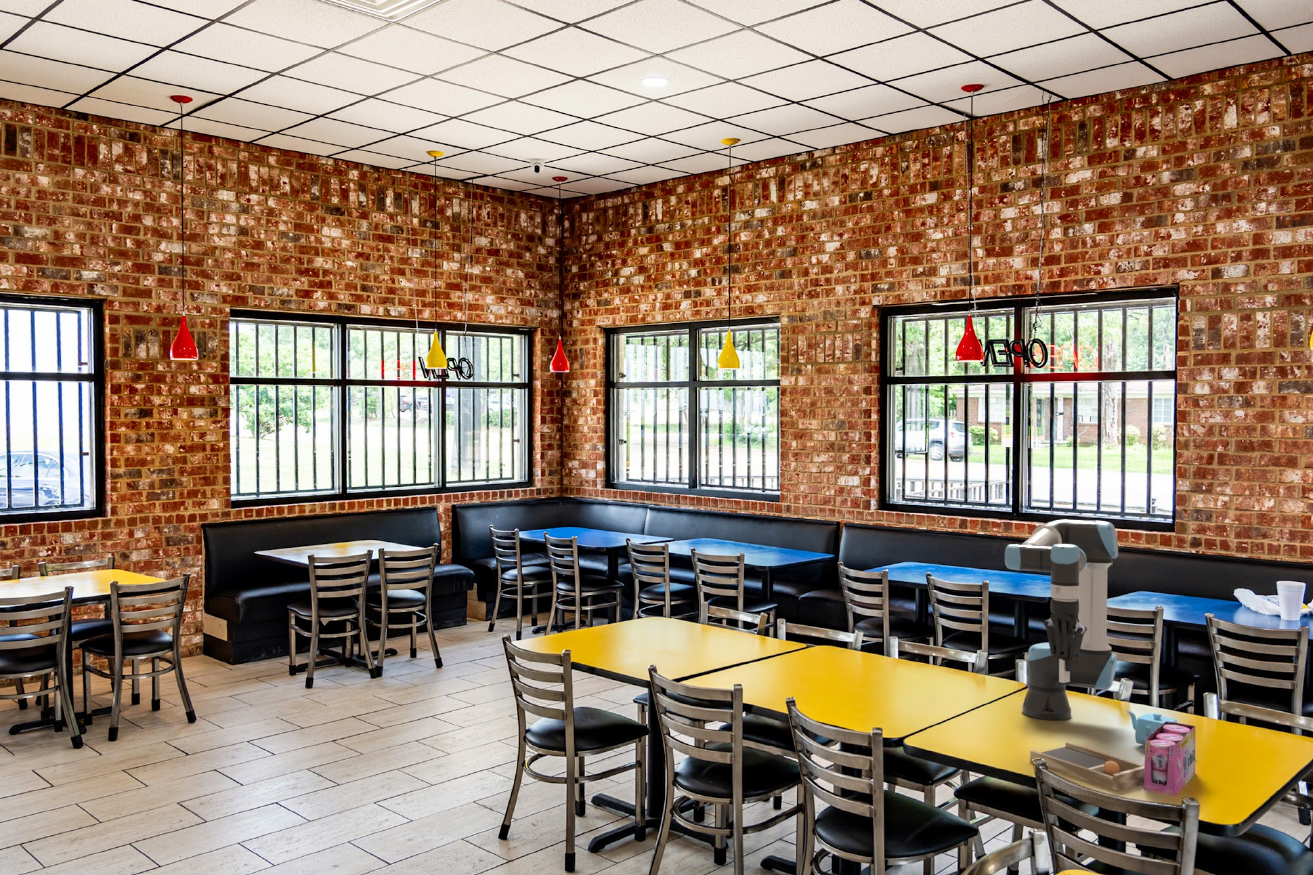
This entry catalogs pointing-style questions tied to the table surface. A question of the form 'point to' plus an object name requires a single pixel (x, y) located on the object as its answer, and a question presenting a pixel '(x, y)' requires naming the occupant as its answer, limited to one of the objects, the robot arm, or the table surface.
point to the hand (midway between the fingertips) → (1064, 681)
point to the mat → (1079, 758)
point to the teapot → (1147, 725)
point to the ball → (1111, 768)
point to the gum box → (1169, 758)
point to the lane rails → (1118, 781)
